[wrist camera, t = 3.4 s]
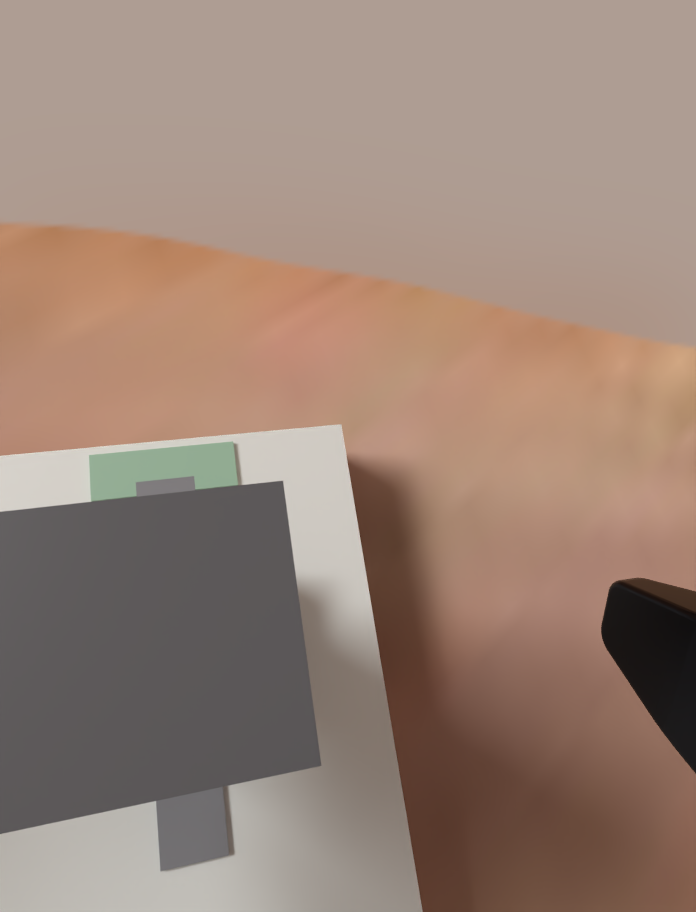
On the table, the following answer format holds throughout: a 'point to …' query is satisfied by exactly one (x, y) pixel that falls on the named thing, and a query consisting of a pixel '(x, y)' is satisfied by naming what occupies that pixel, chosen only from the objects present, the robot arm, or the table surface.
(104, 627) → the lever
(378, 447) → the table surface
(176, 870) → the breaker panel
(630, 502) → the table surface
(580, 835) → the table surface
